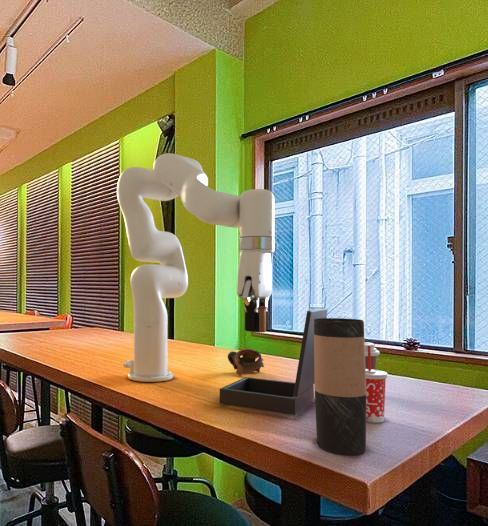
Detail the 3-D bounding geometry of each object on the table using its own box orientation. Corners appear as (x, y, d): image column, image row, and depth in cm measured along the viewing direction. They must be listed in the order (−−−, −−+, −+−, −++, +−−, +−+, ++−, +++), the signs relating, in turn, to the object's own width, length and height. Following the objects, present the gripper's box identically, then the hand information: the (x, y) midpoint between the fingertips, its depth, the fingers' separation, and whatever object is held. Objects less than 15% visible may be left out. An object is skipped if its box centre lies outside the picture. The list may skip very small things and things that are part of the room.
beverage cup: (346, 417, 86) (345, 344, 86) (366, 412, 88) (365, 342, 89) (375, 425, 80) (373, 348, 81) (395, 420, 83) (393, 346, 84)
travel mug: (377, 449, 68) (374, 320, 70) (349, 460, 64) (346, 322, 65) (333, 435, 75) (331, 317, 76) (305, 444, 70) (303, 319, 71)
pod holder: (219, 407, 92) (219, 388, 92) (245, 393, 105) (245, 376, 105) (295, 419, 84) (295, 399, 84) (314, 402, 96) (313, 384, 96)
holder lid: (306, 310, 84) (311, 311, 83) (324, 308, 96) (328, 308, 96) (292, 395, 84) (297, 397, 84) (311, 382, 97) (315, 383, 96)
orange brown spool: (242, 331, 95) (242, 306, 95) (250, 329, 99) (250, 305, 99) (263, 333, 92) (263, 306, 93) (270, 331, 96) (270, 306, 97)
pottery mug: (269, 374, 130) (270, 352, 126) (253, 393, 124) (253, 371, 120) (235, 360, 137) (234, 338, 133) (218, 377, 131) (216, 355, 127)
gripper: (253, 249, 105) (253, 326, 105) (225, 244, 91) (224, 332, 90) (284, 248, 102) (284, 328, 101) (260, 242, 87) (259, 335, 86)
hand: (256, 329), depth 96 cm, fingers closed on orange brown spool, 4 cm apart
